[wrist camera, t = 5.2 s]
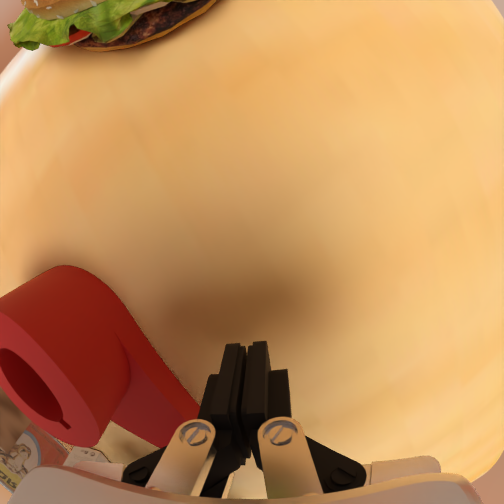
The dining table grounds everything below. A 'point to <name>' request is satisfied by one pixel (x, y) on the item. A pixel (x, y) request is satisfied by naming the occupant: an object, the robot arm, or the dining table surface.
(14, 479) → the canned food
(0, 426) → the walnut board
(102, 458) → the skincare box
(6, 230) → the dining table surface
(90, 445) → the lever
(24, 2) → the food
